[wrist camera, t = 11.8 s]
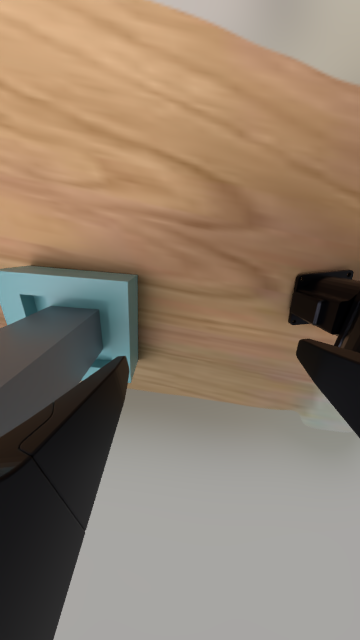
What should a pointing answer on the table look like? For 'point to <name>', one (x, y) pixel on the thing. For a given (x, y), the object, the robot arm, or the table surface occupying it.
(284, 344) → the table surface
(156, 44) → the table surface
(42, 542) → the robot arm
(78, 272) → the teal base brick
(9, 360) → the grey knobbed block
